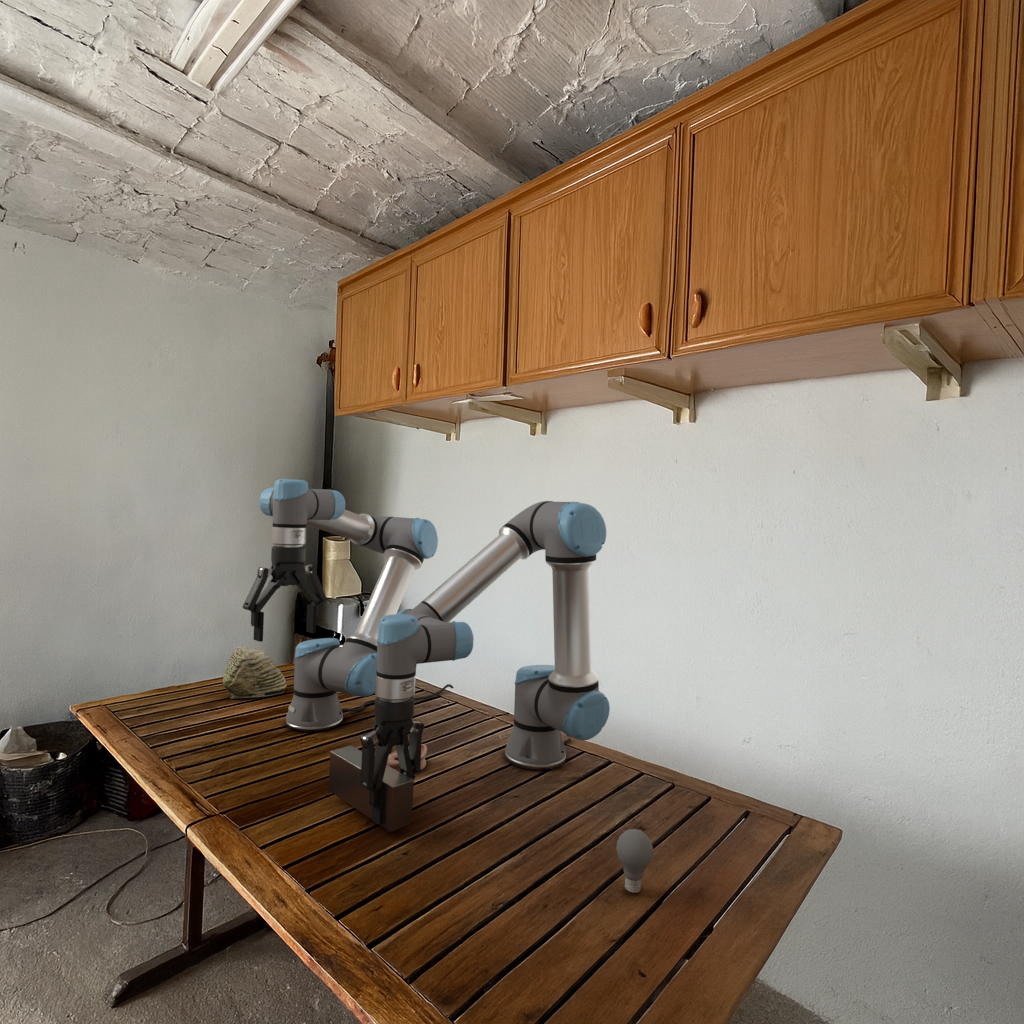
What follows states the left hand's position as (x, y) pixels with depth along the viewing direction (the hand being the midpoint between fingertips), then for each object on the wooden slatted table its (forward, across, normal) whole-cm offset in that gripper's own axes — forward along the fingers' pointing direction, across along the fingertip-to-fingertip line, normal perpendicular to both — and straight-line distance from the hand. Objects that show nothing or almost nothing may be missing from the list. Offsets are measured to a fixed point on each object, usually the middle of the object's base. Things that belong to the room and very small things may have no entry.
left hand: (285, 636), depth 148 cm
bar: (+28, -1, -33) cm, 44 cm away
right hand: (+28, -2, -40) cm, 49 cm away
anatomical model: (+30, +18, -20) cm, 41 cm away
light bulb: (+30, +13, -85) cm, 91 cm away
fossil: (+30, +22, +52) cm, 64 cm away
